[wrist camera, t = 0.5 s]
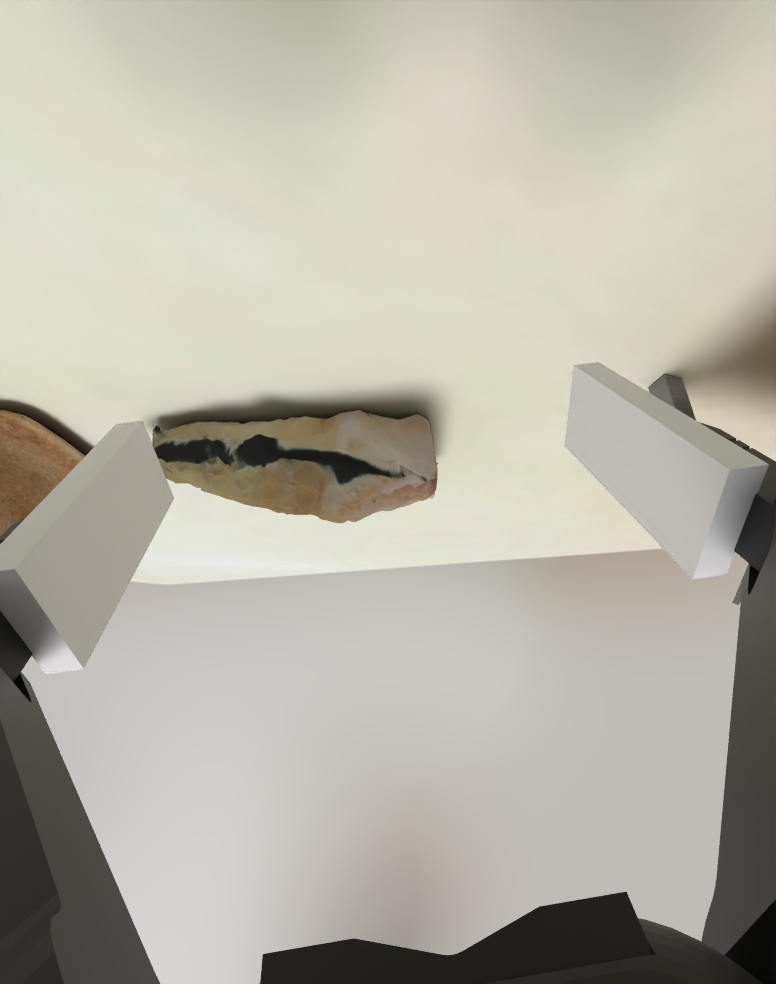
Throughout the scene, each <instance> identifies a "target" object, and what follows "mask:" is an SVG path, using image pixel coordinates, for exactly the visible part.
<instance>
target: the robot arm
mask: <svg viewBox="0 0 776 984" xmlns="http://www.w3.org/2000/svg"><path fill="white" fill-rule="evenodd" d="M565 447H566V448H567V449H568V450H569V451H570V452H571V453H572V454H573V455H574V456H575V457H576V458H577V459H578V460H579V461H580V462H581V463H582V464H583V465H584V466H585V468H586V469H587V470H588V471H589V472H590V473H591V474H592V475H593V476H594V477H595V478H596V479H597V480H598V481H599V482H600V483H601V484H602V485H603V486H604V487H605V488H606V489H607V490H608V491H609V492H610V494H611V495H612V496H613V497H614V498H615V499H616V500H617V501H618V502H619V503H620V504H621V505H622V506H623V507H624V508H625V509H626V510H627V511H628V512H629V513H630V514H631V515H632V516H633V517H634V519H635V520H636V521H637V522H638V523H639V524H640V525H641V526H642V527H643V528H644V529H645V530H646V531H647V532H648V533H649V534H650V535H651V536H652V537H653V538H654V539H655V540H656V541H657V542H658V544H659V545H660V546H661V547H662V548H663V549H664V550H665V551H666V552H667V553H668V554H669V555H670V556H671V557H672V558H673V559H674V560H675V561H676V562H677V563H678V564H679V565H680V566H681V567H682V569H683V570H685V572H686V573H687V574H689V576H690V577H691V578H692V579H697V578H704V577H711V576H718V575H724V574H727V572H728V569H729V566H730V564H731V561H732V559H733V556H734V553H735V552H736V553H738V554H739V555H740V556H741V557H742V558H744V559H745V560H746V561H747V562H748V563H749V564H748V567H747V569H746V571H745V574H744V576H743V579H742V581H741V584H740V586H739V588H738V591H737V593H736V596H735V598H734V600H733V603H735V604H737V605H739V603H740V602H741V607H740V619H739V630H738V642H737V652H736V664H735V676H734V688H733V698H732V710H731V721H730V732H729V743H728V755H727V766H726V778H725V789H724V800H723V812H722V823H721V835H720V846H719V857H718V870H717V879H716V886H715V891H714V896H713V899H712V903H711V906H710V909H709V912H708V916H707V919H706V922H705V927H704V932H703V936H702V942H701V941H699V940H697V939H695V938H692V937H690V936H688V935H686V934H684V933H681V932H679V931H677V930H675V929H673V928H670V927H667V926H663V925H661V924H657V923H654V922H651V921H648V920H644V919H639V918H637V916H636V913H635V911H634V909H633V906H632V904H631V902H630V899H629V897H628V894H627V892H622V893H616V894H610V895H604V896H599V897H593V898H587V899H582V900H575V901H569V902H564V903H558V904H552V905H546V906H540V907H538V908H536V909H535V910H533V911H531V912H529V913H528V914H526V915H524V916H522V917H521V918H519V919H517V920H516V921H514V922H512V923H510V924H509V925H507V926H505V927H504V928H502V929H500V930H498V931H497V932H495V933H493V934H491V935H490V936H488V937H486V938H485V939H483V940H481V941H479V942H478V943H476V944H474V945H473V946H471V947H469V948H467V949H466V950H464V951H462V952H460V953H458V954H454V955H440V954H435V953H429V952H424V951H419V950H413V949H407V948H402V947H397V946H391V945H386V944H381V943H375V942H370V941H365V940H359V939H348V940H342V941H337V942H331V943H326V944H319V945H313V946H307V947H302V948H296V949H290V950H284V951H279V952H273V953H267V954H263V959H262V972H261V982H260V984H776V462H775V461H774V460H772V459H770V458H769V457H767V456H765V455H763V454H762V453H760V452H758V451H757V450H755V449H753V448H751V449H750V448H749V446H748V445H746V444H745V443H743V442H741V441H739V440H738V441H736V438H734V437H733V436H731V435H729V434H727V433H726V432H724V431H722V430H721V429H718V428H715V427H712V426H709V425H706V424H703V423H700V422H697V421H696V420H694V419H692V418H691V417H689V416H687V415H686V414H684V413H682V412H681V411H679V410H677V409H676V408H674V407H672V406H671V405H669V404H667V403H666V402H664V401H662V400H660V399H659V398H657V397H655V396H654V395H652V394H650V393H649V392H647V391H645V390H644V389H642V388H640V387H639V386H637V385H635V384H634V383H632V382H630V381H629V380H627V379H625V378H624V377H622V376H620V375H619V374H617V373H615V372H614V371H612V370H610V369H609V368H607V367H605V366H604V365H602V364H600V363H599V362H597V363H589V364H581V365H574V370H573V378H572V387H571V395H570V404H569V412H568V421H567V429H566V438H565ZM173 499H174V497H173V495H172V492H171V490H170V487H169V485H168V482H167V480H166V477H165V475H164V472H163V470H162V467H161V465H160V463H159V460H158V458H157V455H156V453H155V450H154V448H153V445H152V443H151V440H150V438H149V435H148V433H147V430H146V428H145V426H144V423H143V421H137V422H129V423H122V424H116V425H115V426H114V427H113V428H112V429H111V430H110V431H109V432H108V433H107V434H106V436H105V437H104V438H103V439H102V440H101V441H100V442H99V443H98V444H97V445H96V446H95V447H94V448H93V449H92V450H91V451H90V452H89V453H88V454H87V455H86V456H85V457H84V458H83V459H82V460H81V461H80V462H79V463H78V464H77V465H76V467H75V468H74V469H73V470H72V471H71V472H70V473H69V474H68V475H67V476H66V477H65V478H64V479H63V480H62V481H61V482H60V483H59V484H58V485H57V486H56V487H55V488H54V489H53V490H52V491H51V492H50V493H49V494H48V495H47V497H46V498H45V499H44V500H43V501H42V502H41V503H40V504H39V505H38V506H37V507H36V508H35V509H34V510H33V511H32V512H31V513H30V514H29V515H27V516H26V517H24V518H23V519H21V520H20V521H18V522H17V523H15V524H13V525H12V526H10V527H9V528H8V529H7V531H6V532H5V533H4V534H3V535H2V536H1V537H0V984H160V982H159V980H158V978H157V976H156V974H155V972H154V970H153V967H152V965H151V963H150V960H149V958H148V956H147V954H146V951H145V949H144V946H143V944H142V942H141V940H140V937H139V935H138V933H137V930H136V928H135V926H134V923H133V921H132V919H131V916H130V914H129V912H128V909H127V907H126V905H125V902H124V900H123V898H122V896H121V893H120V891H119V888H118V886H117V884H116V882H115V879H114V877H113V874H112V872H111V870H110V868H109V865H108V863H107V861H106V858H105V856H104V854H103V851H102V849H101V847H100V844H99V842H98V840H97V837H96V835H95V833H94V830H93V828H92V826H91V824H90V821H89V819H88V816H87V814H86V812H85V809H84V807H83V805H82V803H81V800H80V798H79V796H78V793H77V791H76V789H75V786H74V784H73V782H72V779H71V777H70V775H69V772H68V770H67V768H66V765H65V763H64V761H63V758H62V756H61V754H60V751H59V749H58V747H57V744H56V742H55V740H54V737H53V735H52V733H51V731H50V728H49V726H48V724H47V721H46V719H45V717H44V714H43V712H42V710H41V707H40V705H39V703H38V700H37V698H36V696H35V693H34V691H33V689H32V686H31V684H30V682H29V681H28V680H27V679H26V677H25V676H24V675H23V674H22V672H21V670H22V669H23V668H24V666H25V664H26V663H27V662H28V660H29V659H30V657H31V656H33V658H34V659H35V660H36V661H37V663H38V664H39V666H40V667H41V668H42V670H43V671H44V672H45V673H46V674H52V673H58V672H65V671H72V670H79V669H83V668H84V667H85V665H86V663H87V661H88V659H89V658H90V656H91V654H92V652H93V650H94V648H95V646H96V644H97V643H98V641H99V639H100V637H101V635H102V633H103V631H104V629H105V627H106V625H107V624H108V622H109V620H110V618H111V616H112V614H113V612H114V611H115V609H116V606H117V605H118V603H119V601H120V599H121V597H122V595H123V594H124V592H125V590H126V588H127V586H128V584H129V582H130V580H131V578H132V577H133V575H134V573H135V571H136V569H137V567H138V565H139V563H140V562H141V560H142V558H143V556H144V554H145V552H146V550H147V548H148V546H149V545H150V543H151V541H152V539H153V537H154V535H155V533H156V531H157V529H158V528H159V526H160V524H161V522H162V520H163V518H164V516H165V514H166V512H167V511H168V509H169V507H170V505H171V503H172V501H173Z"/></svg>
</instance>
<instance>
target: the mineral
mask: <svg viewBox="0 0 776 984" xmlns="http://www.w3.org/2000/svg"><path fill="white" fill-rule="evenodd" d="M153 448H154V450H155V453H156V455H157V458H158V460H159V463H160V465H161V467H162V470H163V472H164V475H165V477H166V479H169V480H171V481H174V482H175V483H190V484H191V485H193V486H195V487H197V488H200V487H201V490H202V491H204V492H208V493H211V494H215V495H218V496H221V497H224V498H226V499H230V500H234V501H237V502H240V503H242V504H246V505H250V506H255V507H262V508H267V509H270V510H272V511H275V512H277V513H285V514H294V515H309V514H312V515H315V516H318V517H319V518H320V519H323V520H328V521H331V522H335V523H344V522H346V521H347V520H348V521H352V522H357V521H359V520H361V519H363V518H365V517H366V516H369V515H371V514H372V513H376V512H379V511H391V510H394V509H396V508H399V507H404V506H407V505H410V504H412V503H415V502H417V501H423V500H425V499H428V498H431V499H432V498H433V497H434V494H435V490H436V487H437V486H436V485H437V464H438V463H437V462H436V457H435V450H434V442H433V437H432V433H431V429H430V425H429V421H428V420H427V419H426V418H424V417H423V416H420V415H418V414H416V415H413V416H410V417H407V418H404V419H399V420H397V419H392V418H387V417H381V416H378V415H374V414H370V413H364V412H363V411H361V410H356V411H349V412H344V413H340V414H338V415H336V416H333V417H331V418H327V419H320V418H312V417H306V416H304V417H296V418H293V417H290V418H289V419H287V420H282V419H278V420H274V421H270V422H265V421H260V422H252V421H251V422H248V423H245V424H239V423H238V422H235V423H234V422H214V421H212V422H192V423H189V424H185V425H182V426H179V427H175V428H172V429H168V430H164V431H161V430H160V429H159V427H158V426H156V427H155V428H154V429H153Z"/></svg>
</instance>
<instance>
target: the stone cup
mask: <svg viewBox="0 0 776 984" xmlns="http://www.w3.org/2000/svg"><path fill="white" fill-rule="evenodd" d="M84 457H85V455H83V454H82V453H81V452H79V451H78V450H77V449H76V448H74V447H73V446H72V445H70V444H69V443H67V442H66V441H65V440H63V439H62V438H60V437H59V436H57V435H56V434H54V433H53V432H51V431H50V430H49V429H47V428H46V427H44V426H43V425H41V424H40V423H38V422H36V421H34V420H32V419H30V418H28V417H27V416H24V415H21V414H18V413H14V412H10V411H4V410H0V537H1V536H2V535H3V534H4V533H5V532H6V531H7V529H8V528H9V527H10V526H12V525H13V524H15V523H17V522H18V521H20V520H21V519H23V518H24V517H26V516H27V515H29V514H30V513H31V512H32V511H33V510H34V509H35V508H36V507H37V506H38V505H39V504H40V503H41V502H42V501H43V500H44V499H45V498H46V497H47V495H48V494H49V493H50V492H51V491H52V490H53V489H54V488H55V487H56V486H57V485H58V484H59V483H60V482H61V481H62V480H63V479H64V478H65V477H66V476H67V475H68V474H69V473H70V472H71V471H72V470H73V469H74V468H75V467H76V465H77V464H78V463H79V462H80V461H81V460H82V459H83V458H84Z"/></svg>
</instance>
